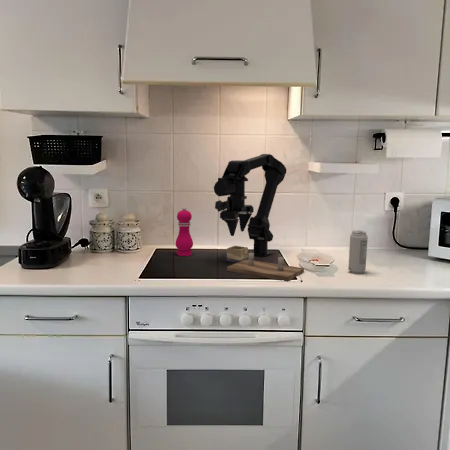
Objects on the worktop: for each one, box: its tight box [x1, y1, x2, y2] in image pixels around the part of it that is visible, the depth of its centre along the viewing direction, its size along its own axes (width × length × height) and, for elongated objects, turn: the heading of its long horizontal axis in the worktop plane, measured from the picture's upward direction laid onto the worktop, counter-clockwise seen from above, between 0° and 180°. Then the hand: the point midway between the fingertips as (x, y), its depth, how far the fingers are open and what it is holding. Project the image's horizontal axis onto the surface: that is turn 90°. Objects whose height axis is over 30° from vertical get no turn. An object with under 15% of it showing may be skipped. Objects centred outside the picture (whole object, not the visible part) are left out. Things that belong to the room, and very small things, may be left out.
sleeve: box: [226, 245, 249, 263], centre depth 193 cm, size 6×6×5 cm
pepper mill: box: [175, 206, 194, 257], centre depth 201 cm, size 7×7×20 cm
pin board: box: [226, 252, 305, 282], centre depth 177 cm, size 14×24×6 cm, turn 58°
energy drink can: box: [348, 230, 368, 275], centre depth 177 cm, size 6×6×15 cm
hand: (237, 233), depth 191 cm, fingers open, 9 cm apart
